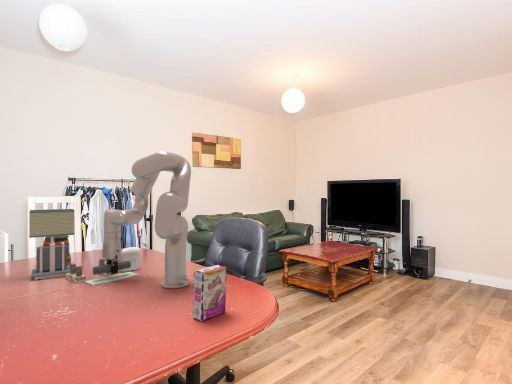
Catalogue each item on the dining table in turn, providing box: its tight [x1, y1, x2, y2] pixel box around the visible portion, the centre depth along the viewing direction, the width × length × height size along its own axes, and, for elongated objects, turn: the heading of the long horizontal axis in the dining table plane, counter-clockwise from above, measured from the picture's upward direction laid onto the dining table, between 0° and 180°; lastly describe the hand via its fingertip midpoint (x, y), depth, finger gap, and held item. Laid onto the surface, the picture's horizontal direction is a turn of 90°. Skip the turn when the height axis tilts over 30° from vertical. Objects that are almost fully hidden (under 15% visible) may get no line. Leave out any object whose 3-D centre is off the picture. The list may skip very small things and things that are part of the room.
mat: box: [84, 271, 139, 287], centre depth 150 cm, size 8×22×1 cm, turn 141°
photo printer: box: [119, 246, 141, 273], centre depth 166 cm, size 10×4×12 cm, turn 134°
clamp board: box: [65, 258, 116, 284], centre depth 153 cm, size 12×18×7 cm, turn 141°
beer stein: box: [42, 235, 72, 266], centre depth 179 cm, size 19×15×20 cm
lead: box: [92, 261, 131, 276], centre depth 150 cm, size 17×4×4 cm, turn 141°
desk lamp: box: [28, 208, 75, 281], centre depth 156 cm, size 18×14×33 cm
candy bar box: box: [192, 264, 227, 323], centre depth 107 cm, size 11×5×16 cm, turn 141°
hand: (112, 272), depth 150 cm, fingers closed on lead, 3 cm apart
